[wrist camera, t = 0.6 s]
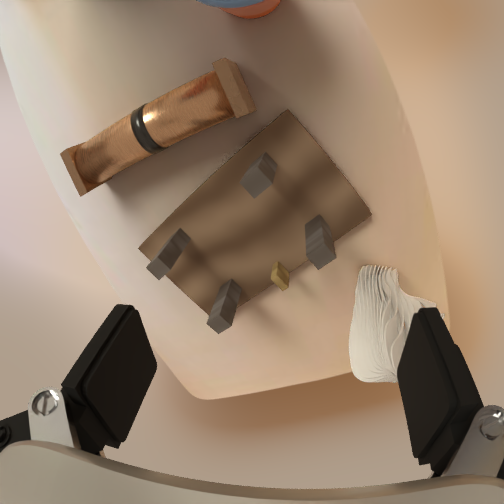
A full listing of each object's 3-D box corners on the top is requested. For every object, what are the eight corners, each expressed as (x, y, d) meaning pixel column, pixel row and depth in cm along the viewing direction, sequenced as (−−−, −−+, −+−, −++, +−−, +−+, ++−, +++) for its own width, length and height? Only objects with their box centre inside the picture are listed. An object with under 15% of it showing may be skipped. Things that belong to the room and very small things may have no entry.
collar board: (141, 244, 39) (111, 278, 32) (287, 109, 30) (285, 113, 23) (217, 316, 43) (203, 358, 36) (369, 210, 34) (388, 243, 26)
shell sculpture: (397, 307, 39) (433, 419, 23) (338, 302, 40) (353, 422, 24) (416, 252, 35) (475, 359, 19) (352, 244, 36) (385, 359, 20)
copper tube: (105, 182, 36) (80, 196, 31) (87, 143, 34) (60, 153, 29) (256, 110, 30) (249, 113, 26) (236, 63, 28) (224, 57, 23)
